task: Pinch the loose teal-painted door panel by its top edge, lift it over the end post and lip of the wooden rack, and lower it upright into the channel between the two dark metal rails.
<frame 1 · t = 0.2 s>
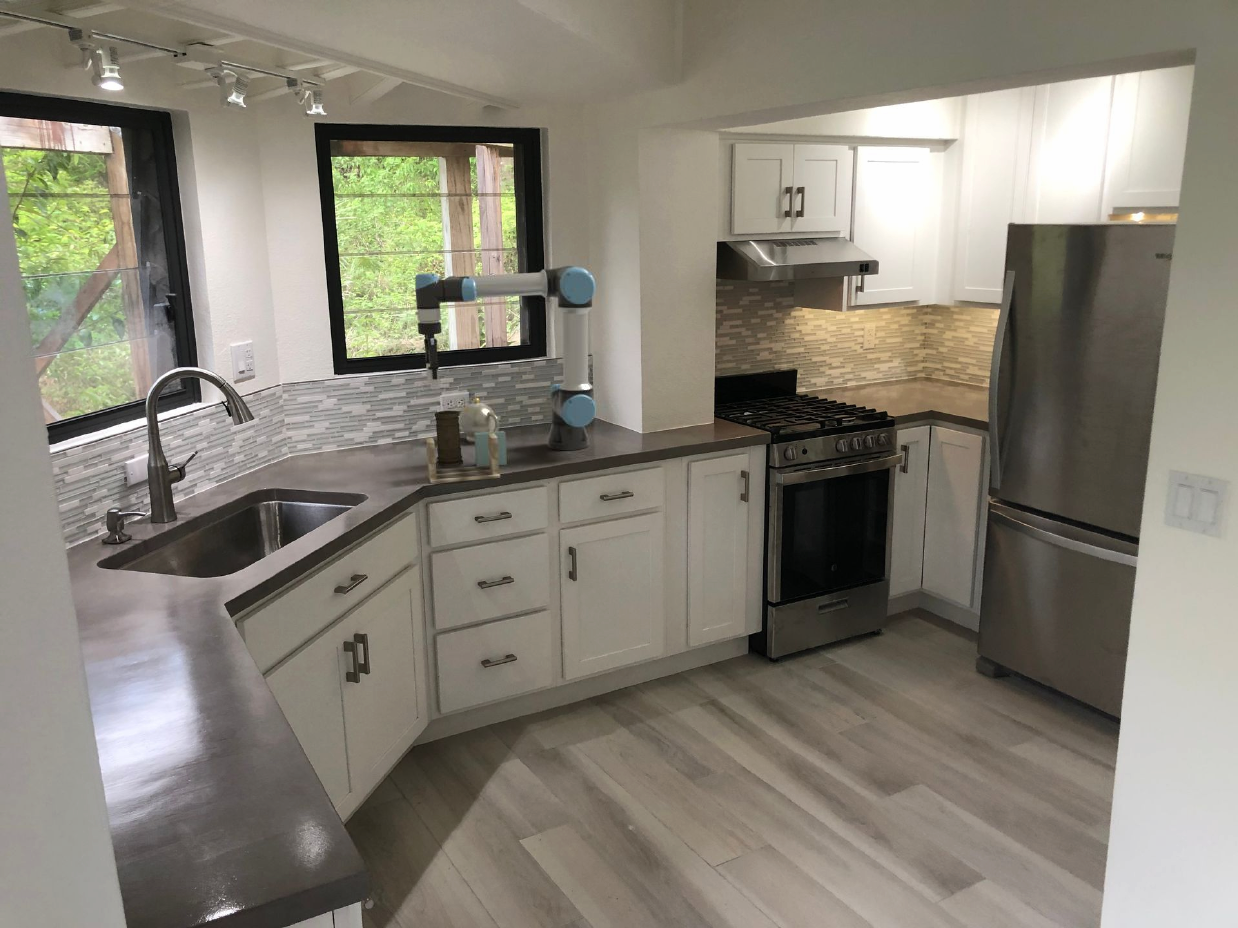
hand: (433, 385, 322), 27 cm above the worktop, fingers open, 13 cm apart
door panel: (491, 464, 329), on the worktop
wooden rack: (463, 476, 314), on the worktop
teapot: (481, 441, 364), on the worktop
container: (450, 465, 330), on the worktop
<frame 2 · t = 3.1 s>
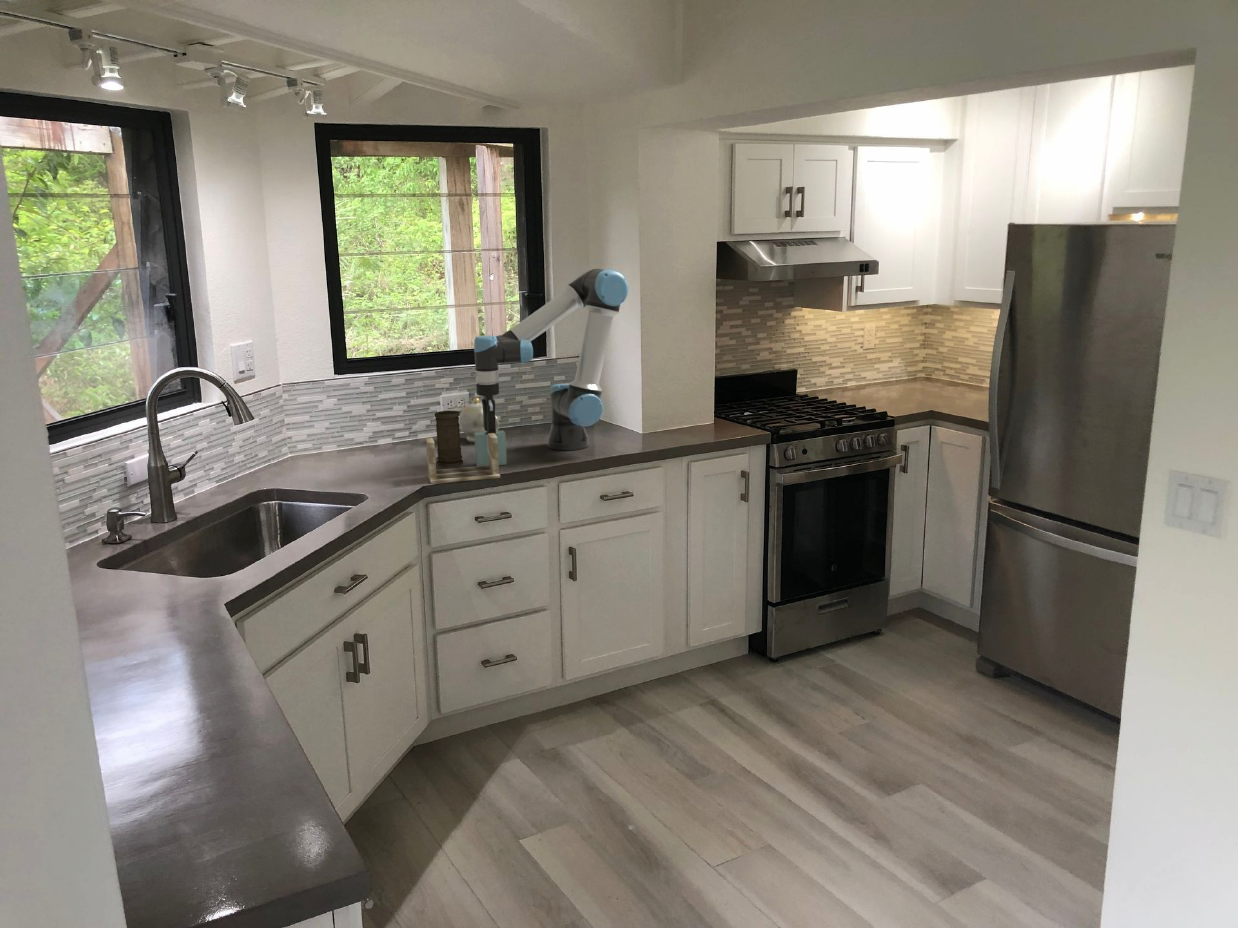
hand: (490, 451, 328), 5 cm above the worktop, fingers closed on door panel, 3 cm apart
door panel: (491, 464, 329), on the worktop, touching gripper
everything else where it was.
when the fingers open (6 cm above the worktop, at t = 7.8 s): door panel stays where it is, resting on wooden rack.
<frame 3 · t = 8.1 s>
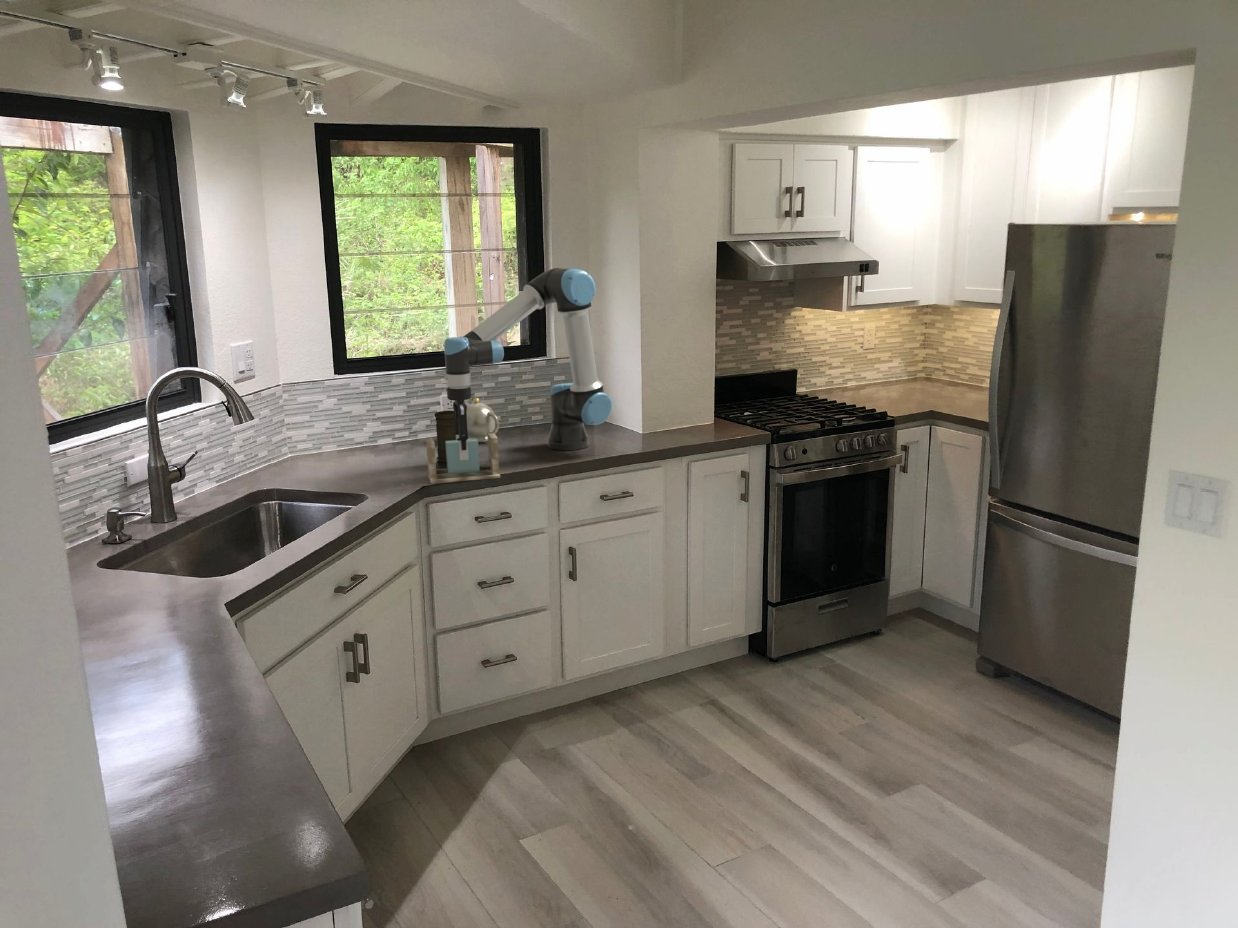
hand: (462, 456, 313), 7 cm above the worktop, fingers open, 7 cm apart
door panel: (463, 474, 314), point 1 cm above the worktop, touching wooden rack
everything else where it was.
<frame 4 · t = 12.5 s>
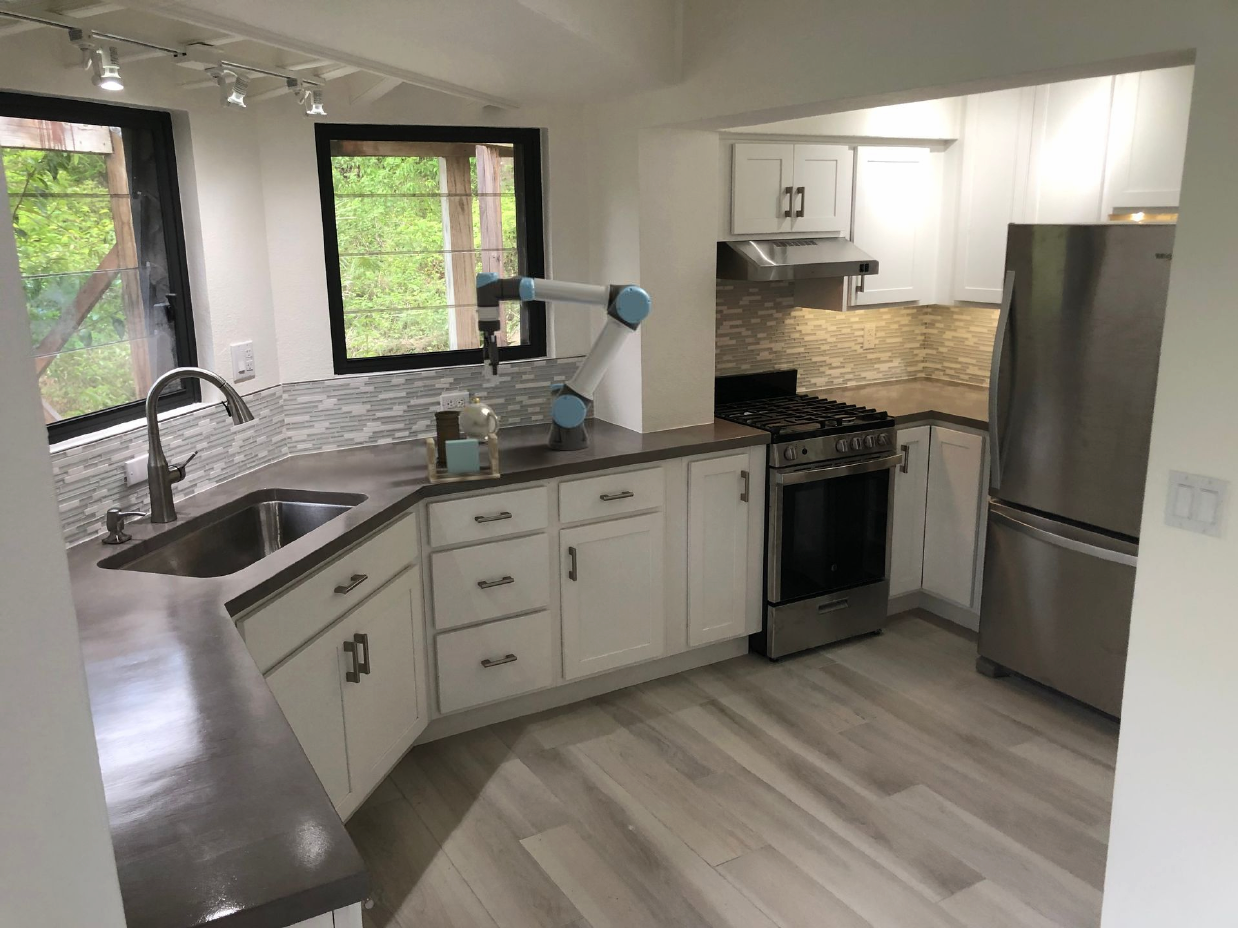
hand: (491, 381, 333), 27 cm above the worktop, fingers open, 13 cm apart
nothing on the worktop moved.
at the end: door panel inside the target area on the wooden rack (0.0 cm from its centre), point 0.8 cm above the wooden rack's base; door panel tilted 0°; the gripper is holding nothing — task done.
